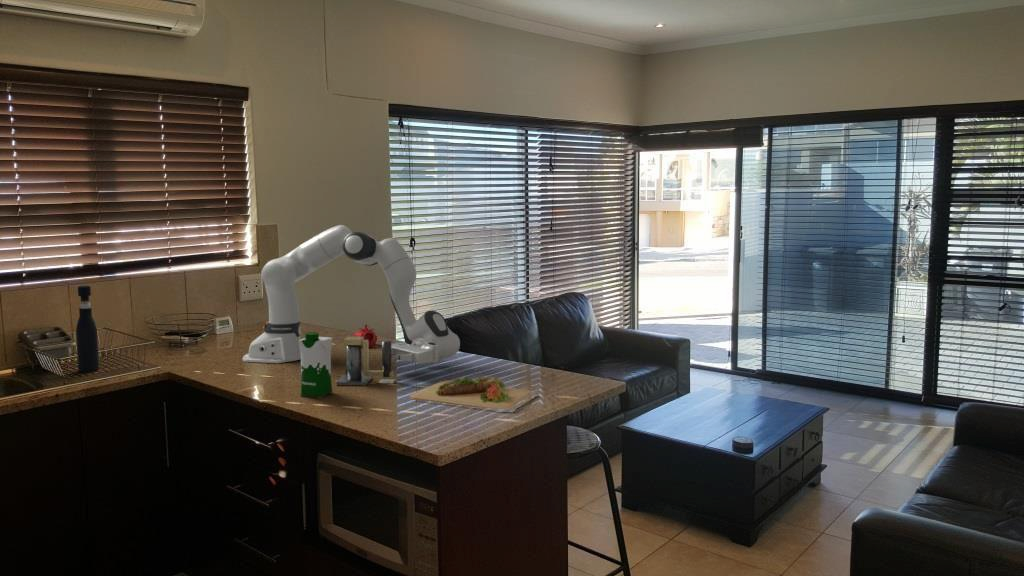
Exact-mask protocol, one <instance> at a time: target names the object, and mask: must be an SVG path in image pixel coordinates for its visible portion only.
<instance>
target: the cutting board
mask: <svg viewBox="0 0 1024 576" xmlns="http://www.w3.org/2000/svg"><path fill="white" fill-rule="evenodd" d="M531 391H532V390H529V389H522V388H513V387H505V382H504V381H500V380H499V378H498V377H496V376H495V377H494V376H492V377H488V378H487V377H485V376H480V377H478V378H476V379H468V377H467V376H466V375H463V376H461V378H459V379H455V380H448V379H446V380H445V379H444V380H440V381H438V382H436V383H434V384H432V385H430V386H427V387H426V388H423V389H421V390H419V391H417V392H415V393H413V394H411V395H409V399H410V398H411V399H413V400H419V401H431V402H440V403H446V404H454V405H462V406H470V407H482V408H495V409H511V408H512V407H514V406H515V405H516V404H517V403H518V402H520V400H522V399H523V398H524V397H526V395H528V393H530V392H531ZM411 399H410V400H411ZM413 400H412V401H413Z"/></svg>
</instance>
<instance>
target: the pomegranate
mask: <svg viewBox="0 0 1024 576" xmlns="http://www.w3.org/2000/svg"><path fill="white" fill-rule="evenodd" d="M369 328H370V327H368V324H364V328H362V327H358V328H357V329H356V330H357V331H355V332H354V334H353V337H364V340H368V343H369V348H372V347H375V346H376V344H377V342H378V336H377V335H376V333H375V332H374V331H375V329H374V328H370V329H369ZM361 345H362V347H363V343H362V344H361Z"/></svg>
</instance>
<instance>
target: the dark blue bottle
mask: <svg viewBox="0 0 1024 576" xmlns="http://www.w3.org/2000/svg"><path fill="white" fill-rule="evenodd" d="M91 290H92V289H91V286H90V285H79V286H78V287H77V296H78V297H80V303H79V309H78V311H79V318H78V320H77V324H76V329H75V333H76V335H75V336H76V350H77V351H76V352H77V353H76V354H77V355H76V356H77V368H78V370H77V371H78V372H79V373H94V372H97V371H100V359H99V357H100V356H99V343H98V338H99V337H98V328H97V325H96V322H95V319H94V317H93V311H92V307H91V302H90V296H92V292H91Z"/></svg>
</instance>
